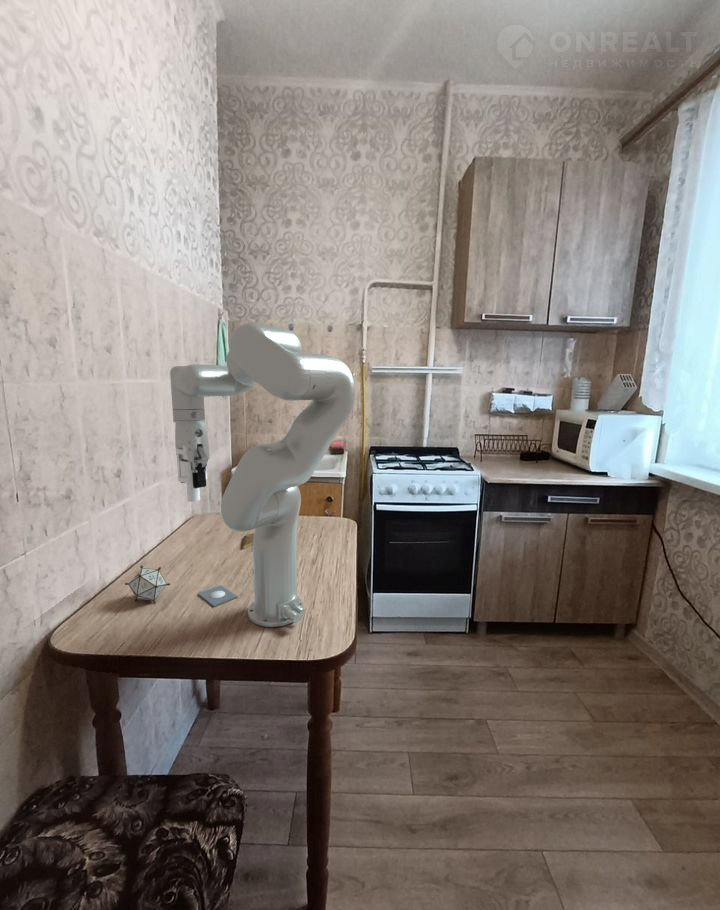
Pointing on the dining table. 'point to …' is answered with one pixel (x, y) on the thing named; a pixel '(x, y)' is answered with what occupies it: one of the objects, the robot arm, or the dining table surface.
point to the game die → (147, 584)
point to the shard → (248, 540)
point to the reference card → (217, 595)
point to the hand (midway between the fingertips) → (193, 484)
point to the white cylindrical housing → (187, 474)
